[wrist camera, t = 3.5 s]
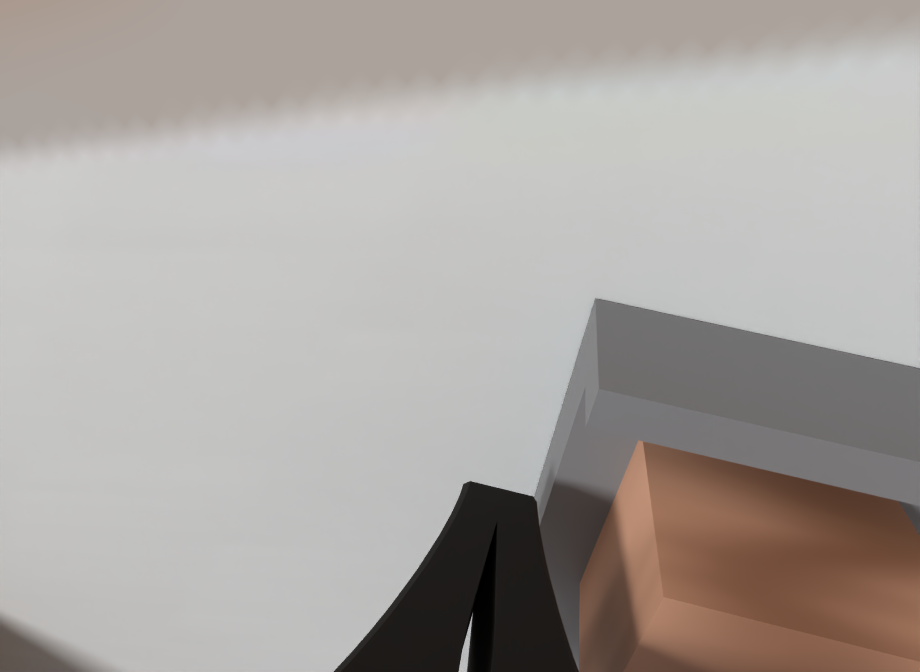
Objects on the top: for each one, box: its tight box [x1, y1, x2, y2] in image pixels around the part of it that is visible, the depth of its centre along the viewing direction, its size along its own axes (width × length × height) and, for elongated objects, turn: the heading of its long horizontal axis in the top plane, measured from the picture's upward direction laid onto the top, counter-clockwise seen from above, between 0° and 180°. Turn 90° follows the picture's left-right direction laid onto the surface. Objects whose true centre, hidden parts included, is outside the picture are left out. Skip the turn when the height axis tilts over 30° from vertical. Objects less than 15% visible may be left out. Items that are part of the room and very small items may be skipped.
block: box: [579, 440, 920, 672], centre depth 10 cm, size 4×4×4 cm
